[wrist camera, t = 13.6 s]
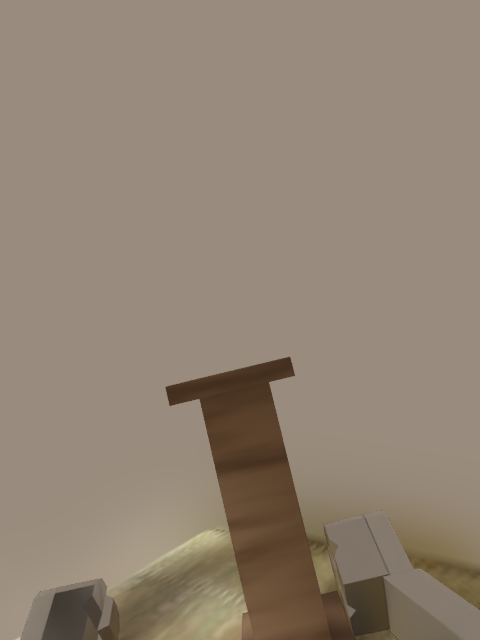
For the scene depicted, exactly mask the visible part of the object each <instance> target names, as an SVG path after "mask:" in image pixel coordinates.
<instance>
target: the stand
mask: <svg viewBox="0 0 480 640" xmlns="http://www.w3.org/2000/svg"><path fill="white" fill-rule="evenodd" d="M291 376H295V374H294V370H293V366H292V363H291V359H290V357H287V358H283V359H278V360H274V361H270V362H266V363H262V364H258V365H254V366H249V367H246V368H241V369H237V370H233V371H229V372H224V373H220V374H216V375H212V376H208V377H204V378H199V379H195V380H191V381H187V382H184V383H180V384H176V385H171V386H167V387H166V391H167V396H168V400H169V405H170V406H171V405H175V404H179V403H183V402H187V401H192V400H196V399H200V403H201V407H202V412H203V415H204V420H205V424H206V429H207V434H208V438H209V442H210V446H211V451H212V455H213V460H214V464H215V469H216V473H217V478H218V482H219V486H220V491H221V495H222V499H223V504H224V508H225V512H226V517H227V521H228V526H229V530H230V535H231V539H232V543H233V548H234V552H235V557H236V561H237V565H238V570H239V574H240V579H241V583H242V587H243V592H244V596H245V601H246V605H247V609H248V612H247V613H243V619H242V640H355V638H354V636H353V633H352V630H351V627H350V625H349V622H348V619H347V616H346V614H345V611H344V608H343V606H342V603H341V600H340V598H339V595H338V592H337V591H334V592H330V593H326V594H322V595H321V594H320V589H319V585H318V581H317V577H316V573H315V569H314V565H313V561H312V557H311V553H310V548H309V544H308V540H307V536H306V532H305V528H304V524H303V520H302V516H301V512H300V508H299V503H298V500H297V496H296V491H295V488H294V483H293V479H292V475H291V471H290V467H289V463H288V458H287V454H286V450H285V446H284V442H283V438H282V434H281V430H280V426H279V422H278V418H277V413H276V409H275V406H274V401H273V397H272V393H271V389H270V385H269V382H271V381H275V380H279V379H283V378H287V377H291Z"/></svg>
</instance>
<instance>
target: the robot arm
mask: <svg viewBox="0 0 480 640" xmlns="http://www.w3.org/2000/svg"><path fill="white" fill-rule="evenodd" d="M324 531H325V536H326V540H327V543H328V552H329V556H330V560H331V565H332V569H333V572H334V576H335V579H336V582H337V586H338V589H339V590H340V591H341V594H342V599H343V604H344V608H345V611H346V615H347V618H348V621H349V624H350V627H351V630H352V633H353V636H359V635H364V634H369V633H373V632H378V631H383V630H388V629H390V631H391V632H392V633H393V634H394V635H395V636H396V637H397V638H398V639H399V640H480V610H479V609H478V608H476V607H475V606H473V605H472V604H470V603H469V602H468V601H466V600H465V599H463V598H462V597H460V596H459V595H458V594H456V593H455V592H453V591H452V590H451V589H449V588H448V587H446V586H445V585H443V584H442V583H441V582H439V581H438V580H436V579H435V578H433V577H432V576H431V575H429V574H428V573H426V572H425V571H423V570H422V569H421V568H417V569H413V567H412V565H411V563H410V561H409V559H408V557H407V555H406V553H405V551H404V549H403V547H402V545H401V543H400V541H399V539H398V537H397V535H396V533H395V531H394V529H393V527H392V525H391V523H390V521H389V519H388V517H387V515H386V513H385V512H384V511H383V510H381V511H377V512H372V513H368V514H364V515H363V516H362V515H358V516H354V517H350V518H346V519H342V520H338V521H334V522H331V523H327V524H324ZM106 590H107V586H106V585H105V583H104V581H103V579H102V578H101V579H95V580H91V581H86V582H81V583H76V584H72V585H67V586H62V587H58V588H54V589H49V590H44V591H40V592H39V593H38V594H37V596H36V597H35V599H34V601H33V604H32V607H31V610H30V613H29V615H28V619H27V621H26V624H25V627H24V630H23V633H22V636H21V639H20V640H118V636H119V613H118V609H117V605H116V603H115V601H114V599H113V598H111V597H109V596H107V595H106Z"/></svg>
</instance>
